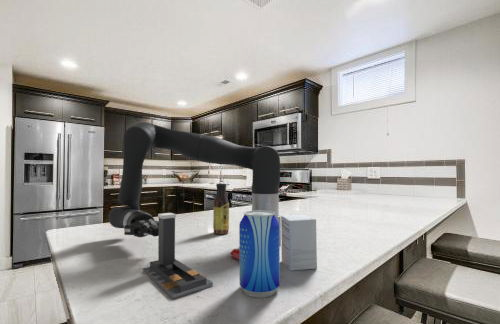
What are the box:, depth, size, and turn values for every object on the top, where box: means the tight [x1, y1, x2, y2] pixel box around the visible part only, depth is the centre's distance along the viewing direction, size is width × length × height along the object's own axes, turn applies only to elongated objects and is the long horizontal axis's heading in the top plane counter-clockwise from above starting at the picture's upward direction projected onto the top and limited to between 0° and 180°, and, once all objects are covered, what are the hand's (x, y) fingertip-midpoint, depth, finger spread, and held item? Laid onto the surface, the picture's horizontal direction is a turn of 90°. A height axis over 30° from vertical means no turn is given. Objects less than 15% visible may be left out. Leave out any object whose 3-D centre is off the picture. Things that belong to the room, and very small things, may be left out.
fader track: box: [142, 258, 214, 300], centre depth 60 cm, size 18×9×2 cm, turn 40°
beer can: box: [238, 210, 281, 298], centre depth 54 cm, size 8×8×16 cm
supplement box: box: [280, 214, 318, 272], centre depth 68 cm, size 7×7×13 cm
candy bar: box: [229, 248, 240, 261], centre depth 70 cm, size 16×4×3 cm, turn 45°
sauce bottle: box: [212, 183, 230, 235], centre depth 104 cm, size 7×6×20 cm
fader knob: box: [157, 212, 176, 269], centre depth 64 cm, size 4×3×13 cm
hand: (157, 232), depth 69 cm, fingers closed
